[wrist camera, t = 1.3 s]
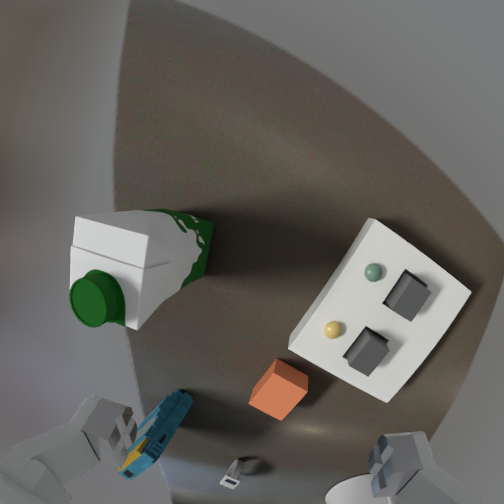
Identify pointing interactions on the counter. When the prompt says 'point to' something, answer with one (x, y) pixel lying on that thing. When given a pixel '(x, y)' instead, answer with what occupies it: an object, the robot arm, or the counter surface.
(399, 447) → the robot arm
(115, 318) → the milk carton
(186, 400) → the handheld gaming console
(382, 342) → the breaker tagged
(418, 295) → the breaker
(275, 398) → the cap
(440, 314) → the box
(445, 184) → the counter surface
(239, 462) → the wristwatch
